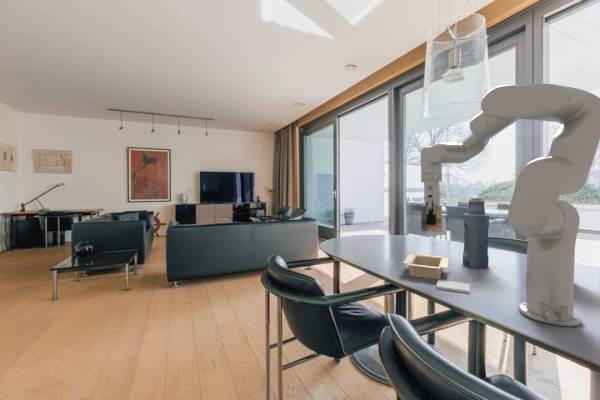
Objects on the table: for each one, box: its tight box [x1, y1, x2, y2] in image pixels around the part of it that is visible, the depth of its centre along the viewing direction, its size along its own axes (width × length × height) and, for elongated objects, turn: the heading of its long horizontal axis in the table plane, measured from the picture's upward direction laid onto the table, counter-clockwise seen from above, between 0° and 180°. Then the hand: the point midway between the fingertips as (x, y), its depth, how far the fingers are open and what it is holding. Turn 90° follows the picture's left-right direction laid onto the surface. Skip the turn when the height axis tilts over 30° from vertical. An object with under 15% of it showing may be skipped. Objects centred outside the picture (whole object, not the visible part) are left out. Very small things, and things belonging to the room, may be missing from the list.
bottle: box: [462, 197, 490, 269], centre depth 124 cm, size 10×10×30 cm
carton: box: [402, 253, 450, 280], centre depth 117 cm, size 20×16×5 cm
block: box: [420, 204, 443, 233], centre depth 112 cm, size 5×7×10 cm
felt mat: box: [435, 279, 471, 294], centre depth 99 cm, size 8×10×1 cm
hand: (431, 223), depth 112 cm, fingers closed on block, 4 cm apart
